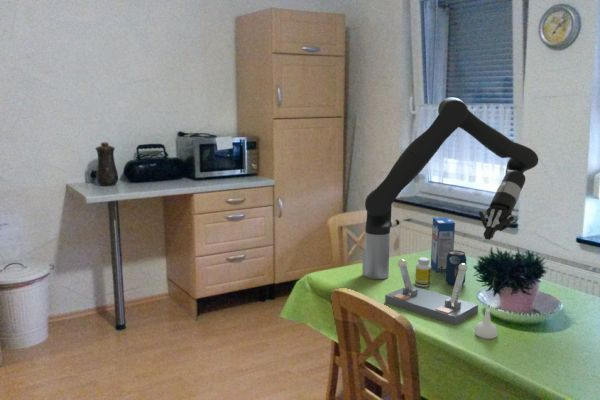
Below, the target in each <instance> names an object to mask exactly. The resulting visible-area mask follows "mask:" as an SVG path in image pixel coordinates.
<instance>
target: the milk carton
mask: <svg viewBox="0 0 600 400" xmlns="http://www.w3.org/2000/svg"><path fill="white" fill-rule="evenodd" d="M455 225H456V223H455V222H454V221H453V219H451V218H449V217H432V228H431V229H432V230H431V231H432V232H431V251H430V254H431V255H430V266H431V269H433V271H434V272H435V273H436V274H446V260H447V255H448V253H449V251H453V250H454V249H455V248H454V247H455V246H454V245H455V227H456V226H455Z"/></svg>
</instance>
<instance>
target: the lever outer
mask: <svg viewBox="0 0 600 400" xmlns="http://www.w3.org/2000/svg"><path fill="white" fill-rule="evenodd" d="M468 267H469V266H468V265H467V263H466V264H464V263H462V264H460V265H459V267H458V268H459V271H458V274H457V278H456V282H455V285H454V286H453V289H452V294H451V296H450V297H451V300H450V303H453V304H454V303H455V302H457V301H458V299H459V297H460V293H461V290H462V287H463V286H462V283H463V279H464V276H465V277H466V274H465V272H467V271H468Z"/></svg>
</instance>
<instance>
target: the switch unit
mask: <svg viewBox="0 0 600 400" xmlns="http://www.w3.org/2000/svg"><path fill="white" fill-rule="evenodd" d="M412 288H413V290H411V293H408V292H406V289H405V286H403V287H402V288H399V289H397V290H395V291H392V292H389V293H387V294H385V295H384V297H385V298H384V302H385V303H386V304H390V305H393V306H395V307H399V308H402V309H405V310H407V311H411V312H414V313H417V314H420V315H424V316H427V317H430V318H433V319H436V320H439V321H443V322H444V323H445V322H446V323H448V324H452V325H455V326H456V325H457V324H459V323H461V322H463V321H464V320H466V319H469V318H470V317H472V316H473V315H476V314H478V312H479V304H478V303H473V302H470V301H468V300H467V301H466V300H462V299H459V298H458V301H457V302H455V303H454V304H453V303H450V300H451V296H448V295H446V294H443V293H442V294H441V293H437V292H434V291H432V290H431V291H430V290H428V289H424V288H422V287H419V286H417V287H416V286H415V285H412Z"/></svg>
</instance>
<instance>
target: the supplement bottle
mask: <svg viewBox="0 0 600 400" xmlns="http://www.w3.org/2000/svg"><path fill="white" fill-rule="evenodd" d="M431 272H432V266H431V264H430V258H429V257H424V256H422V257H418V259H417V264H416V265H415V277H414V278H415V279H414V284H415V285H416V286H417V287H420V288H424V287H427V288H428V287H429V286H430V285H431V276H432V273H431Z"/></svg>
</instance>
